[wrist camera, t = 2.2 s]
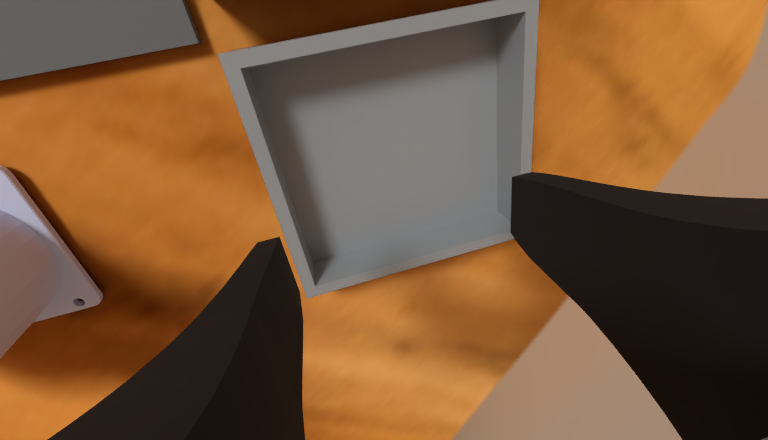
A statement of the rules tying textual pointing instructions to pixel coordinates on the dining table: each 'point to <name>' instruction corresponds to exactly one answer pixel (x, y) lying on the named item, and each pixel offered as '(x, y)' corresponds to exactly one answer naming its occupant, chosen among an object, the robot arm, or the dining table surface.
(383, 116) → the tray
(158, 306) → the dining table surface
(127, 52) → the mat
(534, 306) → the dining table surface
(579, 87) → the dining table surface
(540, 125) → the dining table surface
